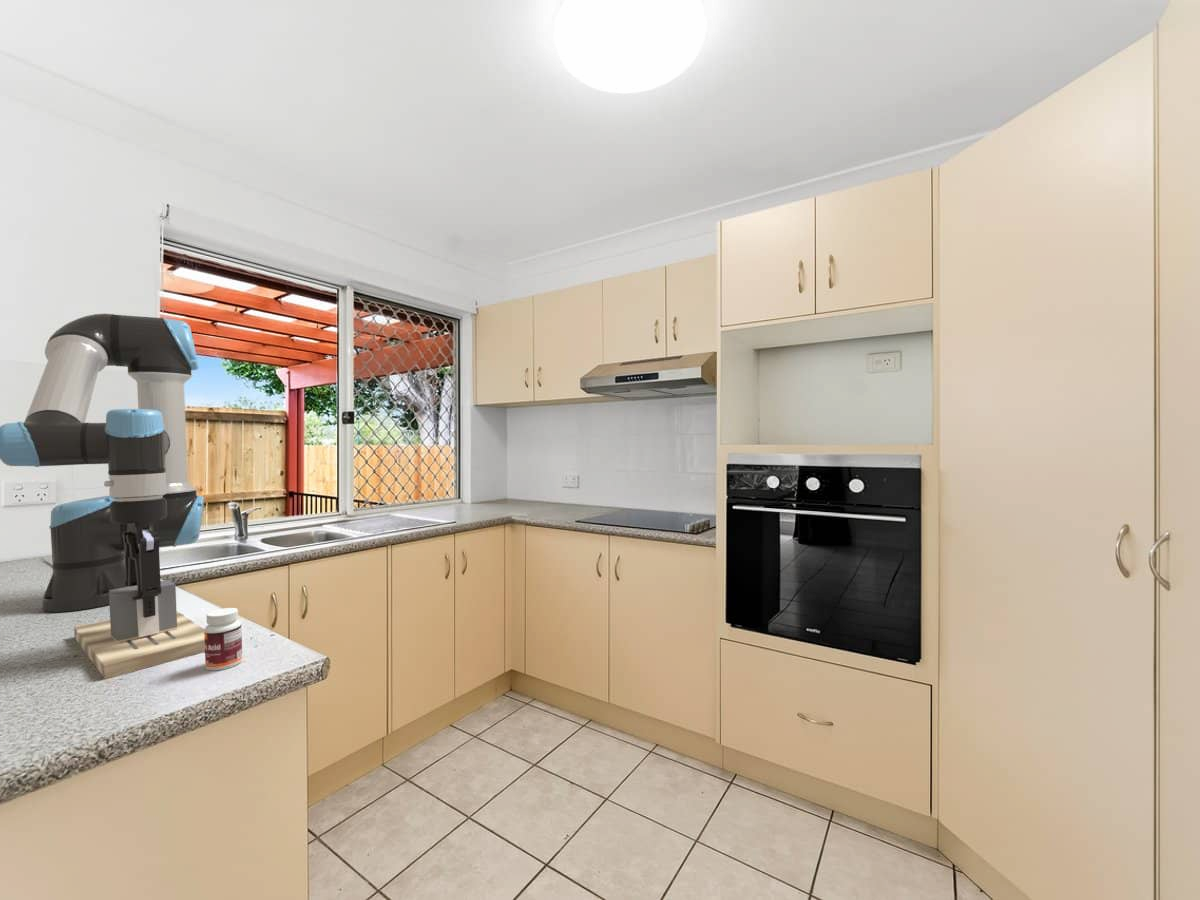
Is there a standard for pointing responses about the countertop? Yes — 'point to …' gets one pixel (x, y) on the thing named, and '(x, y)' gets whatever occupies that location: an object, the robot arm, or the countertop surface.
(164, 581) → the block
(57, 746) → the countertop surface
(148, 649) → the board
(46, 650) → the countertop surface
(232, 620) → the pill bottle
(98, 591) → the robot arm
